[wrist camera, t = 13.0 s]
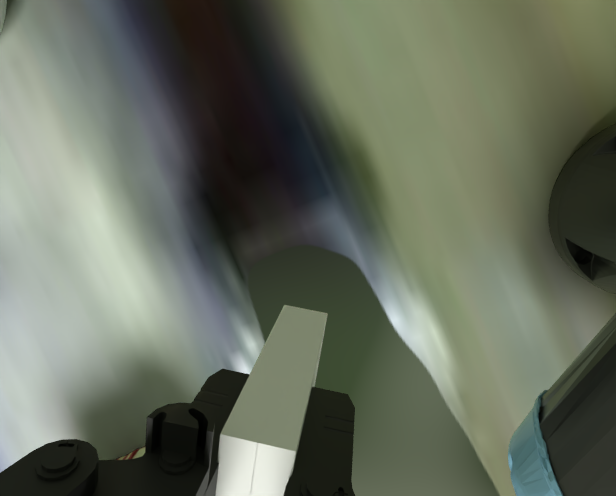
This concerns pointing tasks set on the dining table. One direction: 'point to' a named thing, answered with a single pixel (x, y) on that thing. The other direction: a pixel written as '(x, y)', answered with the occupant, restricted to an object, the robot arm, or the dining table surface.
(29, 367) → the dining table surface
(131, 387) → the dining table surface
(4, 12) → the cereal bowl
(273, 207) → the dining table surface
